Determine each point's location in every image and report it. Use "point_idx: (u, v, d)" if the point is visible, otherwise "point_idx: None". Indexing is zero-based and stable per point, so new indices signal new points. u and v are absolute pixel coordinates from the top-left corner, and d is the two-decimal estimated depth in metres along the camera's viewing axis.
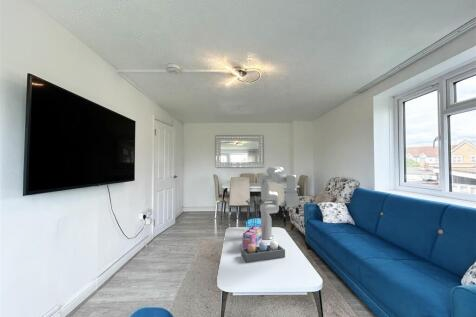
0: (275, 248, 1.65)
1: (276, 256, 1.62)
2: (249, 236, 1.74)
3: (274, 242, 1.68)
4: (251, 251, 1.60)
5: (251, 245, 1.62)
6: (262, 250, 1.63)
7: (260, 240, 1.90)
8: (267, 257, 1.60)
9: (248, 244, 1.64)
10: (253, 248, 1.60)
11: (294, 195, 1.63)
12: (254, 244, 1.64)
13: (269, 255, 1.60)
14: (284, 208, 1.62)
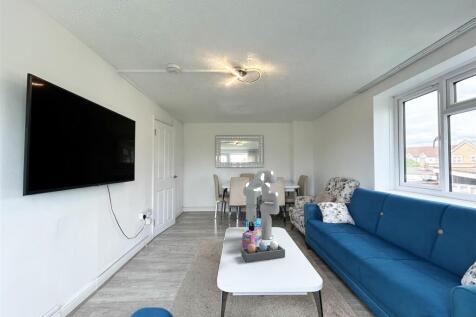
0: (275, 248, 1.65)
1: (276, 256, 1.62)
2: (248, 237, 1.74)
3: (274, 242, 1.68)
4: (251, 251, 1.60)
5: (251, 245, 1.62)
6: (262, 250, 1.63)
7: (260, 240, 1.90)
8: (267, 257, 1.60)
9: (248, 244, 1.64)
10: (253, 248, 1.60)
11: None
12: (254, 244, 1.64)
13: (269, 255, 1.60)
14: (253, 225, 1.60)
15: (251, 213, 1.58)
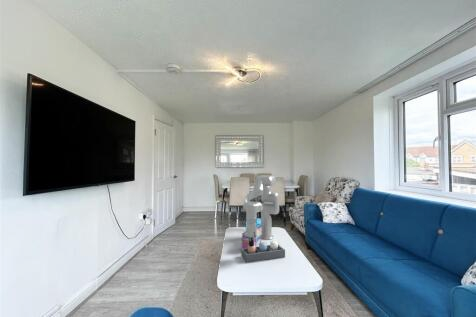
0: (275, 248, 1.65)
1: (276, 256, 1.62)
2: (248, 237, 1.74)
3: (274, 242, 1.68)
4: (251, 252, 1.60)
5: None
6: (262, 250, 1.63)
7: (259, 240, 1.90)
8: (267, 257, 1.60)
9: (248, 245, 1.64)
10: (253, 249, 1.60)
11: None
12: (254, 245, 1.64)
13: (269, 255, 1.60)
14: (253, 240, 1.61)
15: (251, 229, 1.58)
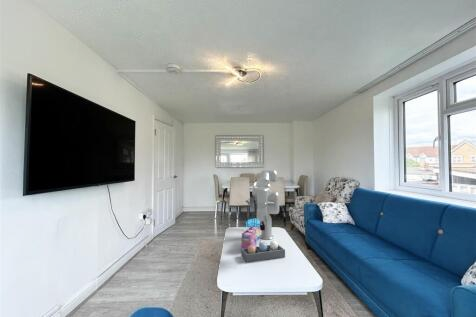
0: (275, 248, 1.65)
1: (276, 256, 1.62)
2: (248, 237, 1.74)
3: (274, 242, 1.68)
4: (251, 253, 1.60)
5: (251, 247, 1.62)
6: (262, 250, 1.63)
7: (259, 240, 1.89)
8: (267, 257, 1.60)
9: (248, 246, 1.64)
10: (253, 250, 1.60)
11: None
12: (254, 246, 1.64)
13: (269, 255, 1.60)
14: (264, 224, 1.64)
15: (262, 213, 1.61)
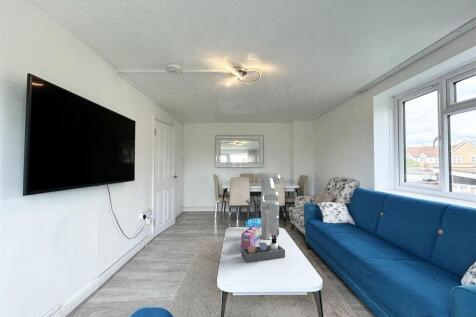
0: (275, 249, 1.65)
1: (276, 256, 1.62)
2: (247, 237, 1.73)
3: None
4: (251, 253, 1.60)
5: (251, 247, 1.62)
6: (262, 250, 1.63)
7: (258, 240, 1.89)
8: (267, 257, 1.60)
9: (248, 246, 1.64)
10: (253, 250, 1.60)
11: None
12: (254, 246, 1.64)
13: (269, 255, 1.60)
14: None
15: (274, 227, 1.63)
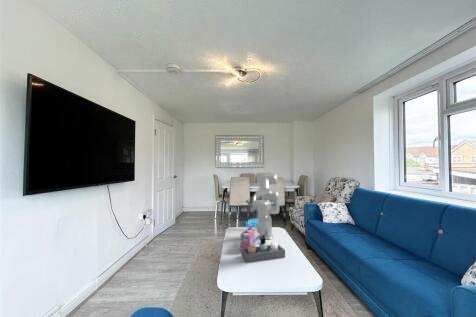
0: None
1: (276, 256, 1.62)
2: (247, 237, 1.73)
3: (274, 244, 1.68)
4: (251, 253, 1.60)
5: (251, 247, 1.62)
6: (262, 250, 1.63)
7: (257, 240, 1.89)
8: (267, 257, 1.60)
9: (248, 246, 1.64)
10: (253, 250, 1.60)
11: None
12: (254, 246, 1.64)
13: (269, 255, 1.60)
14: (264, 238, 1.64)
15: (263, 227, 1.60)
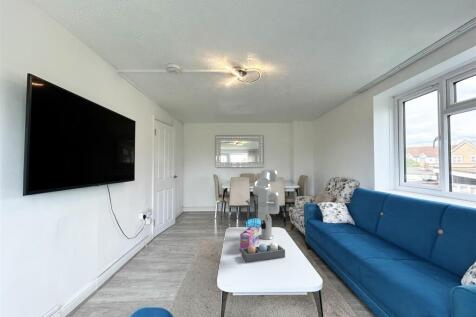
0: None
1: (276, 256, 1.62)
2: (246, 237, 1.73)
3: (274, 244, 1.68)
4: (251, 253, 1.60)
5: (251, 247, 1.62)
6: None
7: (257, 240, 1.89)
8: (267, 257, 1.60)
9: (248, 246, 1.64)
10: (253, 250, 1.60)
11: None
12: (254, 246, 1.64)
13: (269, 255, 1.60)
14: (265, 223, 1.65)
15: (263, 212, 1.61)
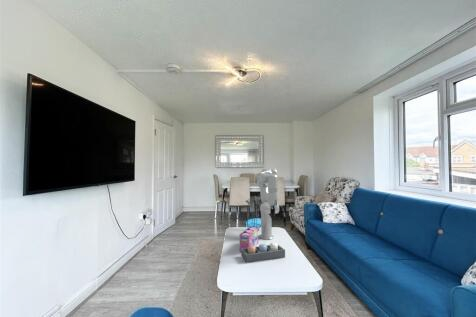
0: None
1: (276, 256, 1.62)
2: (246, 237, 1.73)
3: (274, 244, 1.68)
4: (251, 253, 1.60)
5: (251, 247, 1.62)
6: None
7: (256, 241, 1.89)
8: (267, 257, 1.60)
9: (248, 246, 1.64)
10: (253, 250, 1.60)
11: None
12: (254, 246, 1.64)
13: (269, 255, 1.60)
14: (274, 208, 1.75)
15: (273, 197, 1.72)
